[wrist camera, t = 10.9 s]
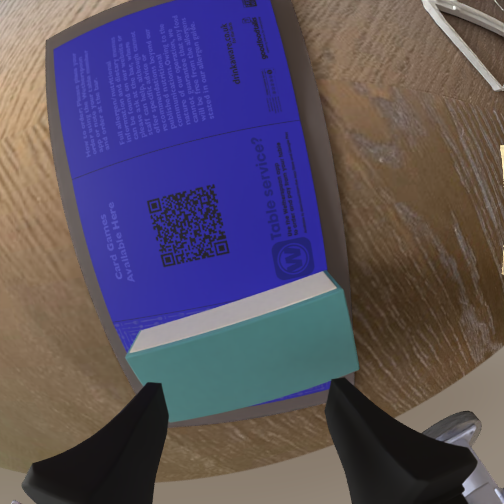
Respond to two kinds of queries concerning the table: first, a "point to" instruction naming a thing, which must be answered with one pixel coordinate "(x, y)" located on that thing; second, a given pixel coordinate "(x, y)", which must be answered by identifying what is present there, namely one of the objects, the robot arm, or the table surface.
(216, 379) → the teal rectangular block
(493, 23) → the crossbow
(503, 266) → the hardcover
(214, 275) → the booklet
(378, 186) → the table surface
